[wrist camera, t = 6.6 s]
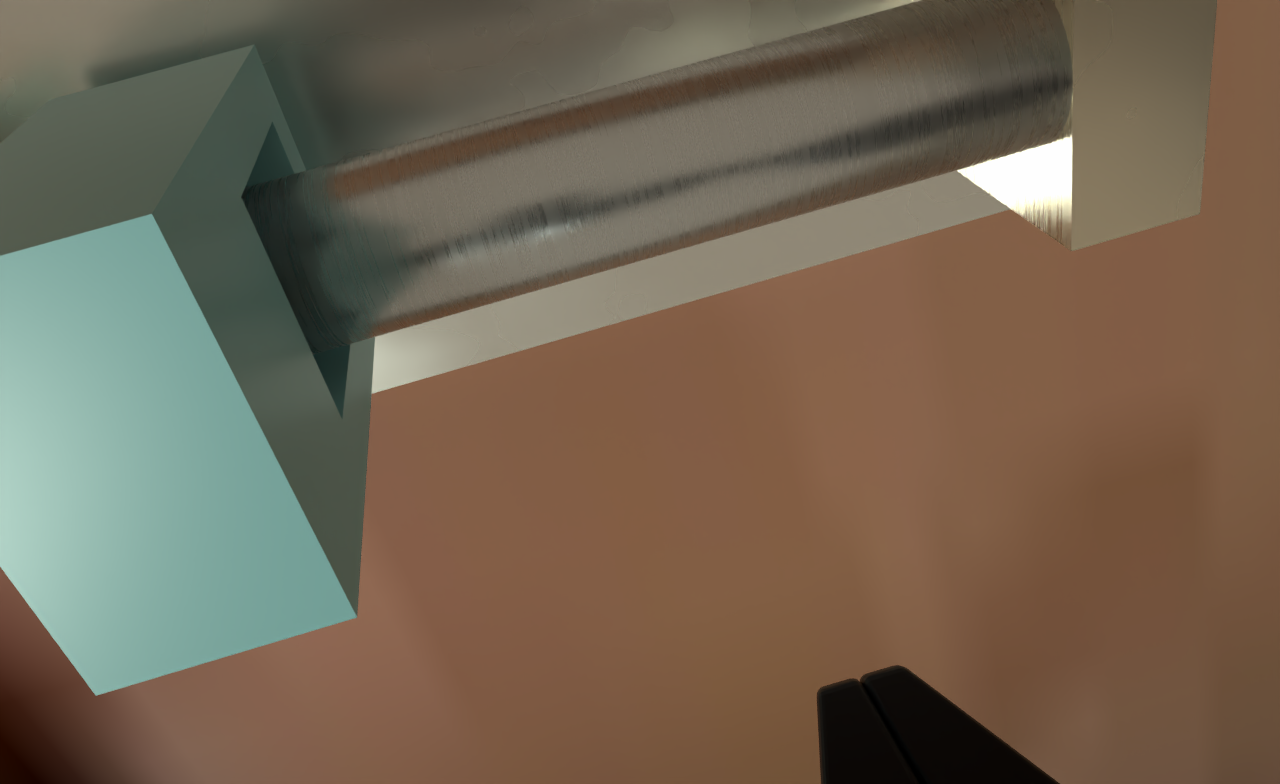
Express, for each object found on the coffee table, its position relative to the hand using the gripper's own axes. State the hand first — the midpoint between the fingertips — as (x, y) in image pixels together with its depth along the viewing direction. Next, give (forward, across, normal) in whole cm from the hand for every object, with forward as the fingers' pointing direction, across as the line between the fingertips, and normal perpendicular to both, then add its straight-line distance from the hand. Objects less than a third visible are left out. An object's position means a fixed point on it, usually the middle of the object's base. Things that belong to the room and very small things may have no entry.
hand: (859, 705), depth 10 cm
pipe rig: (+11, +2, -3) cm, 12 cm away
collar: (+10, +6, -3) cm, 12 cm away
